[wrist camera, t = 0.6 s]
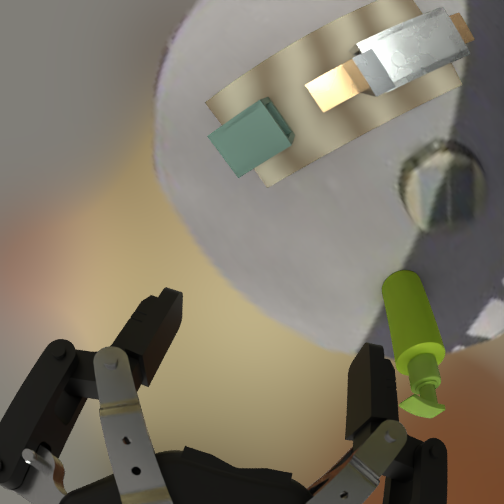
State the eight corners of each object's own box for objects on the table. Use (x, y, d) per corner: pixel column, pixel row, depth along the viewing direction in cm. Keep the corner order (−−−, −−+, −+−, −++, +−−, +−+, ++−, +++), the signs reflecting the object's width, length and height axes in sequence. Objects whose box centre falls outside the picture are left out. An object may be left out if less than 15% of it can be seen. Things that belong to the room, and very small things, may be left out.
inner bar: (447, 16, 18) (497, 0, 10) (462, 41, 19) (516, 35, 11) (305, 84, 26) (302, 85, 18) (322, 109, 27) (327, 123, 19)
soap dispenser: (394, 259, 37) (430, 389, 20) (428, 281, 38) (468, 403, 21) (368, 289, 40) (383, 419, 24) (402, 309, 41) (425, 430, 24)
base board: (402, -9, 20) (405, -11, 19) (458, 84, 24) (462, 84, 23) (207, 101, 31) (204, 102, 30) (268, 185, 35) (267, 188, 34)
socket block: (268, 96, 29) (259, 99, 24) (295, 134, 31) (291, 145, 26) (223, 127, 32) (207, 136, 27) (249, 162, 33) (238, 178, 29)
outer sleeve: (423, 16, 20) (443, 6, 16) (447, 56, 22) (470, 54, 17) (349, 49, 25) (356, 43, 20) (375, 90, 26) (387, 92, 22)
